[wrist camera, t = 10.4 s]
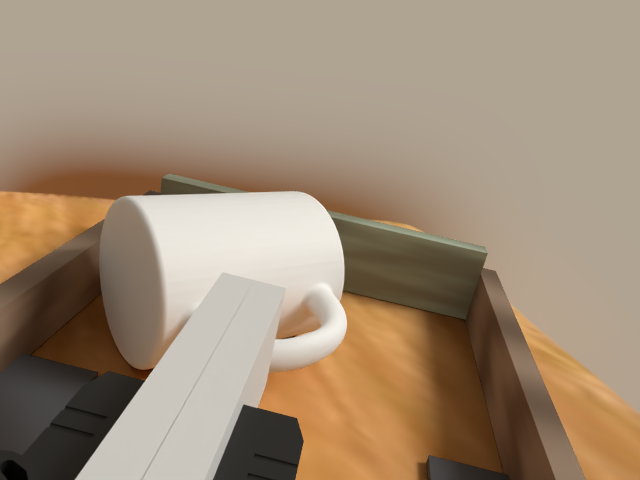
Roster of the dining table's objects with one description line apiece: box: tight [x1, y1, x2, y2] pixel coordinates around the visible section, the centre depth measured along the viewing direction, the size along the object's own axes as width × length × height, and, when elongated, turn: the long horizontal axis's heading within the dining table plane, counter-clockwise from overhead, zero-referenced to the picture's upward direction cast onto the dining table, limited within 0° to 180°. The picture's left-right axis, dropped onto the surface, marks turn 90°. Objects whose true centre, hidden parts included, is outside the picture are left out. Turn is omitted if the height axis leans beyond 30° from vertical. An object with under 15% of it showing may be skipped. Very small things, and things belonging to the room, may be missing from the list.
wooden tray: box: [0, 174, 586, 480], centre depth 25 cm, size 30×24×5 cm
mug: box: [99, 191, 347, 373], centre depth 27 cm, size 12×10×8 cm
